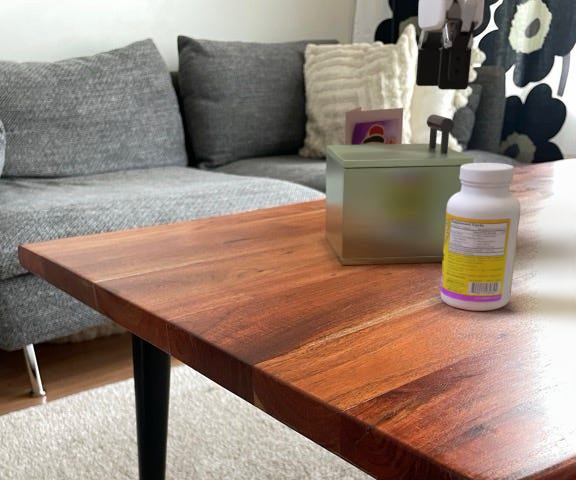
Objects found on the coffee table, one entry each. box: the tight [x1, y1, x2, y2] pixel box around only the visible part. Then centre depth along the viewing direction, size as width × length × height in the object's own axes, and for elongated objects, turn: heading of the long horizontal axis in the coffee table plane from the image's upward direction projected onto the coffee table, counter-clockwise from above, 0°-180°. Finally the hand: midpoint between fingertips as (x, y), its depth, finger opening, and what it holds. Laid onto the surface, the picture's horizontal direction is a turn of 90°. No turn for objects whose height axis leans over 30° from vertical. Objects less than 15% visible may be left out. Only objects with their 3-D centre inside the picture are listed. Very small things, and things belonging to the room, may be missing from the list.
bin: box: [324, 152, 462, 266], centre depth 88 cm, size 14×15×11 cm
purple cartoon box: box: [344, 106, 404, 145], centre depth 106 cm, size 11×7×15 cm, turn 129°
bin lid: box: [325, 113, 474, 168], centre depth 84 cm, size 14×15×5 cm
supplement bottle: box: [440, 162, 522, 312], centre depth 68 cm, size 7×7×13 cm
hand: (440, 87), depth 83 cm, fingers open, 9 cm apart
